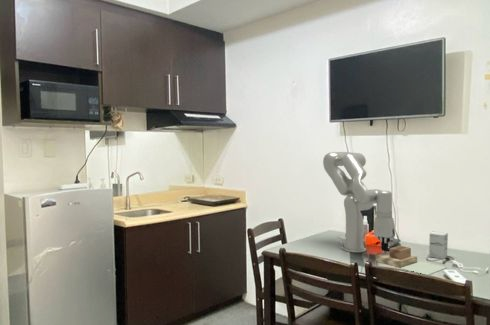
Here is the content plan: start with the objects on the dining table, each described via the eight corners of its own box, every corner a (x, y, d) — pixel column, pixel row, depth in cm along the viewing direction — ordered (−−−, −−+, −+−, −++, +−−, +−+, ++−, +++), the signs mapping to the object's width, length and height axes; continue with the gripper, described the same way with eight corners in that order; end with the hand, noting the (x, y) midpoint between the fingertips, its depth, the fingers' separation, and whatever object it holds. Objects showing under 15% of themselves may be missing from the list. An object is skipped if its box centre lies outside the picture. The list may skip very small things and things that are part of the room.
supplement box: (428, 257, 203) (428, 233, 203) (432, 254, 209) (433, 230, 208) (444, 259, 198) (444, 235, 198) (447, 256, 204) (448, 232, 204)
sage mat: (400, 268, 183) (400, 268, 183) (420, 262, 194) (420, 261, 194) (426, 275, 173) (426, 274, 173) (446, 268, 183) (446, 267, 183)
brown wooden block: (389, 257, 193) (389, 248, 192) (399, 254, 198) (399, 245, 198) (400, 259, 188) (400, 250, 188) (410, 256, 193) (410, 247, 193)
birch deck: (376, 261, 196) (376, 255, 196) (391, 256, 204) (391, 251, 204) (401, 267, 185) (401, 261, 185) (417, 262, 193) (417, 256, 193)
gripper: (367, 213, 203) (368, 248, 203) (393, 217, 191) (393, 254, 191) (376, 212, 208) (376, 246, 208) (401, 215, 196) (402, 251, 196)
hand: (384, 250), depth 200 cm, fingers closed
